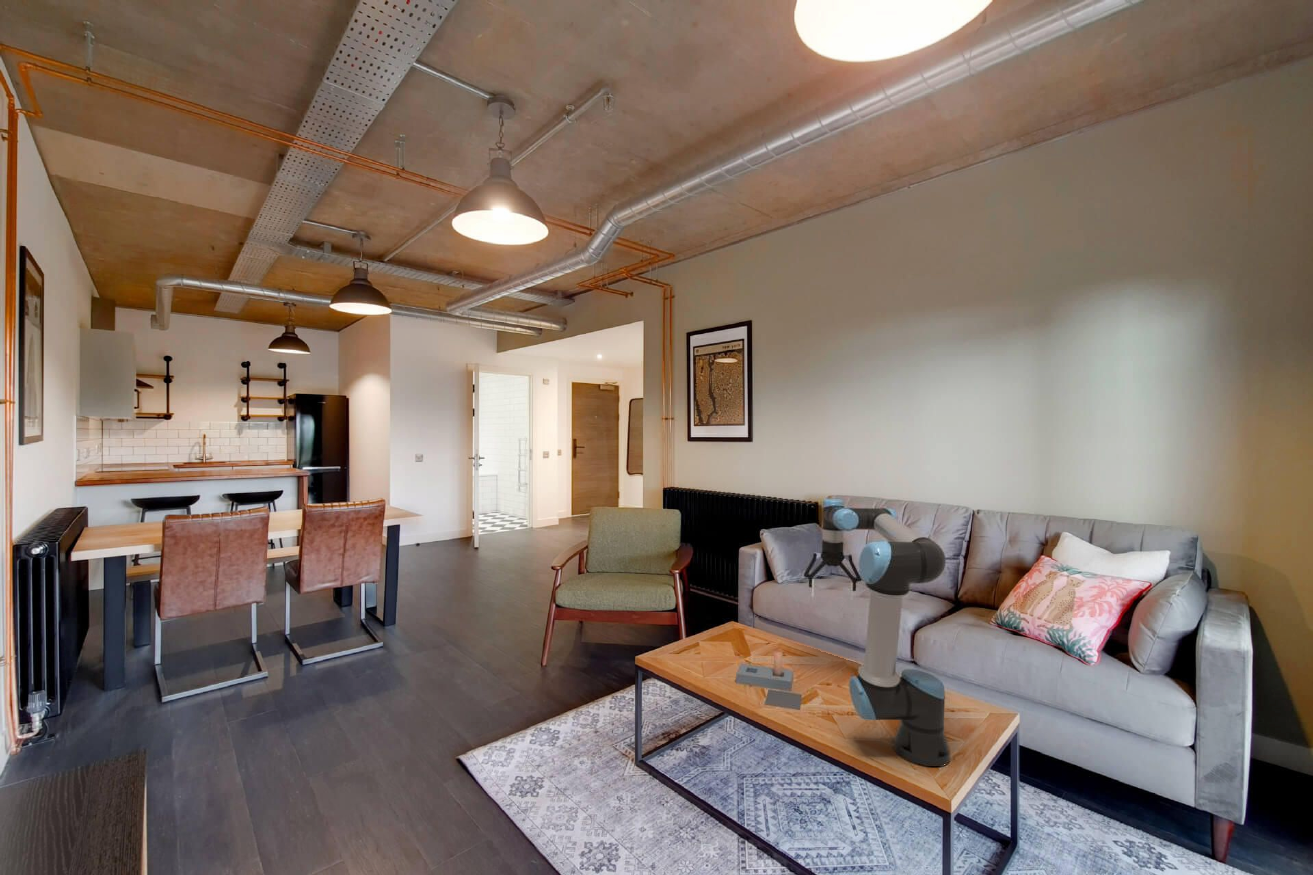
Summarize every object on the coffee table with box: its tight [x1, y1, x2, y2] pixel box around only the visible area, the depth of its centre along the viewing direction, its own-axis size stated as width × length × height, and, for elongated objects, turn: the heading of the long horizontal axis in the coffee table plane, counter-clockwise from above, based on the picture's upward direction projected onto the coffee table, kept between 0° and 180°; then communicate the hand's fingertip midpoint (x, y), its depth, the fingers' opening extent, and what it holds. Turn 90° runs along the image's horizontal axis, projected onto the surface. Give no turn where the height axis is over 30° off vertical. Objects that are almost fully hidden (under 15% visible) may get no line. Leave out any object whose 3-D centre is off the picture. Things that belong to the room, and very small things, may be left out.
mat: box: [764, 688, 803, 711], centre depth 199 cm, size 12×12×1 cm
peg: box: [773, 650, 783, 677], centre depth 211 cm, size 3×3×12 cm
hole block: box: [735, 662, 794, 693], centre depth 213 cm, size 10×20×4 cm, turn 72°
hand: (831, 597), depth 209 cm, fingers open, 13 cm apart
